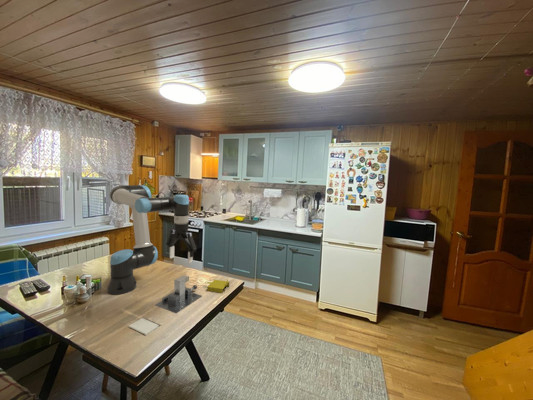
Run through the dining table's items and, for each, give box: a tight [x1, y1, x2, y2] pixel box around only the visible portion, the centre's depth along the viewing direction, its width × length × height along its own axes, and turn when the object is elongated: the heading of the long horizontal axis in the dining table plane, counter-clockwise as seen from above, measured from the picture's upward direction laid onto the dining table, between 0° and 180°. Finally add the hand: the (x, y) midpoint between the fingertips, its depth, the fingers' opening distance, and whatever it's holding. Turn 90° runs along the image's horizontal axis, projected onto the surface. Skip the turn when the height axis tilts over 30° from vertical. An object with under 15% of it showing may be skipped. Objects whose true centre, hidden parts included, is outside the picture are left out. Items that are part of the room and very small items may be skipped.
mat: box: [128, 317, 162, 336], centre depth 110 cm, size 12×16×1 cm
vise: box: [155, 284, 203, 314], centre depth 130 cm, size 16×23×6 cm
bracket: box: [204, 279, 230, 294], centre depth 144 cm, size 16×8×15 cm
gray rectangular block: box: [173, 274, 190, 303], centre depth 129 cm, size 4×7×12 cm, turn 155°
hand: (180, 260), depth 127 cm, fingers open, 13 cm apart
